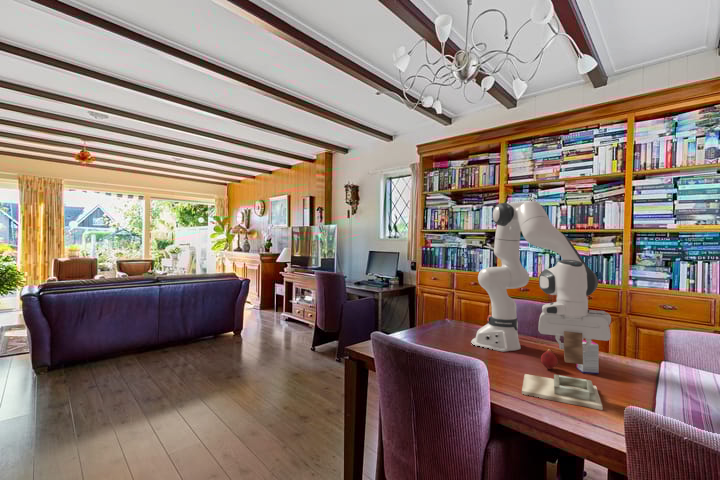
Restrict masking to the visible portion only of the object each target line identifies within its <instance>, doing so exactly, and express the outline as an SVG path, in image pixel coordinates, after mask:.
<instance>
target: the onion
mask: <svg viewBox="0 0 720 480" xmlns="http://www.w3.org/2000/svg"><path fill="white" fill-rule="evenodd" d="M540 361H541V362H540V363H542V366H544V367H545V368H546V369H548V370H552V369H554V368H555V367H556V366H557V365H558V361H559V360H558V357H557V356H556V355H555V353H553V351H552V349H550V348H548V349H547V350H546V351H545V352H543V353H542V354H541V356H540Z"/></svg>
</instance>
